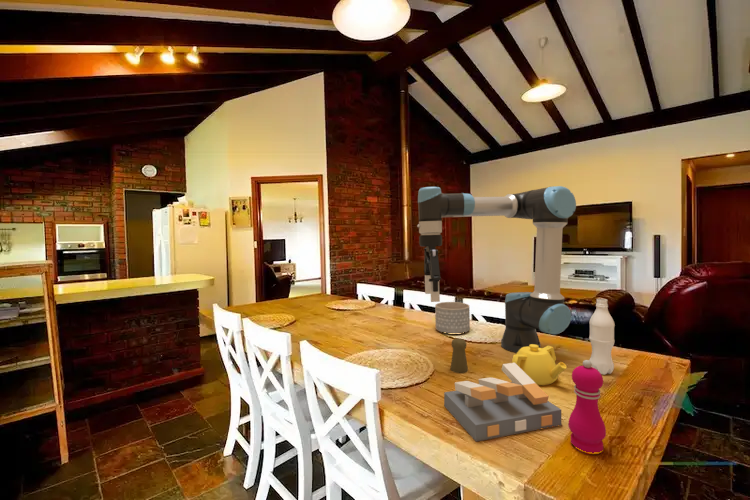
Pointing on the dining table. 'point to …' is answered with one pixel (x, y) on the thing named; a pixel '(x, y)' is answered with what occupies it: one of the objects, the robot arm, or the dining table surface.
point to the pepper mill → (587, 409)
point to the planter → (452, 317)
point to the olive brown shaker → (459, 356)
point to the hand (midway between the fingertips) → (432, 297)
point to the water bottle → (602, 338)
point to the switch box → (500, 414)
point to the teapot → (539, 363)
